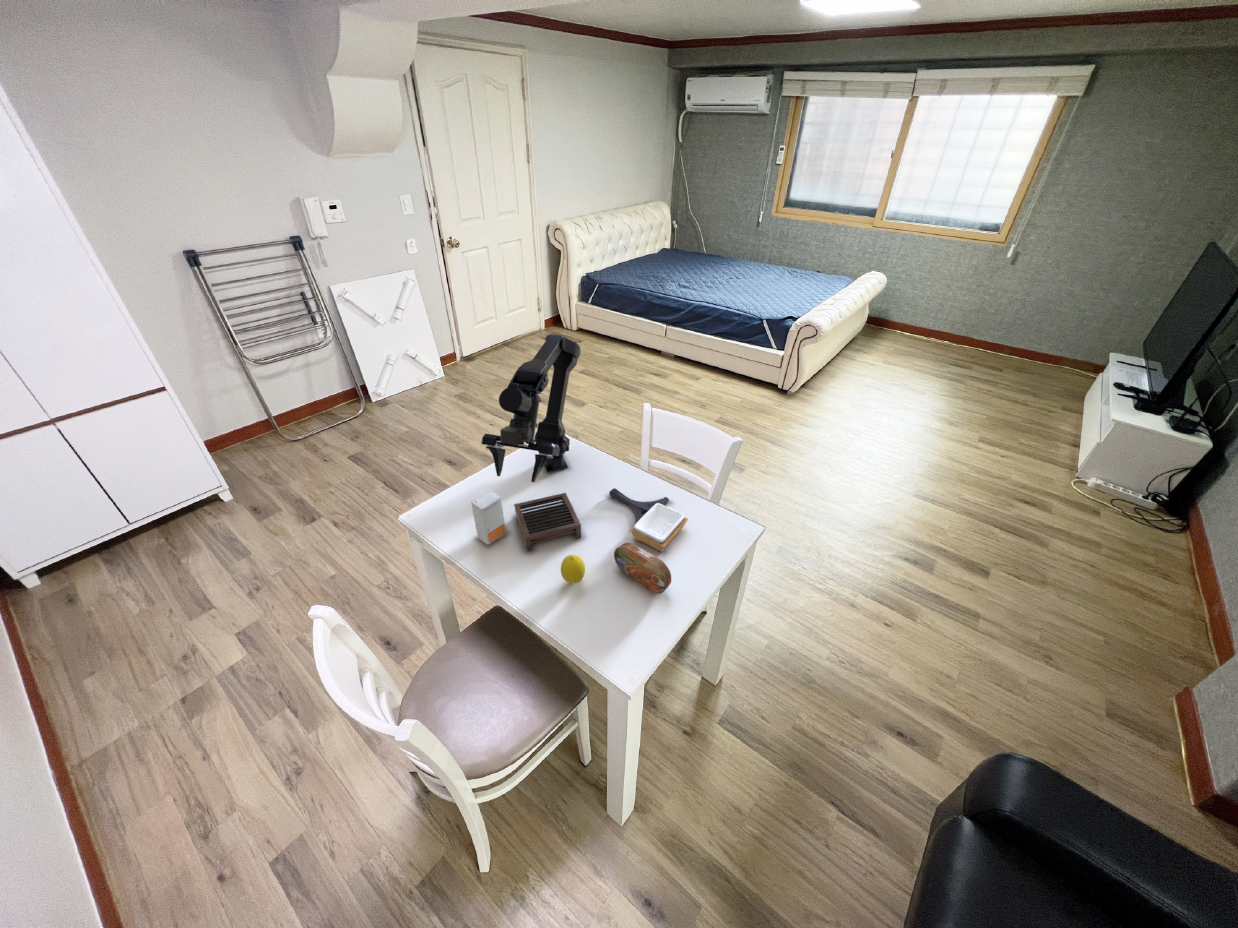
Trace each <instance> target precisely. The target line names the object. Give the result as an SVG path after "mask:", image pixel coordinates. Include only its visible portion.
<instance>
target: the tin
mask: <svg viewBox="0 0 1238 928" xmlns="http://www.w3.org/2000/svg"><path fill="white" fill-rule="evenodd" d="M613 553H614V554H613V557H614V562H615V564H616V567H618V569H619V571H621V572H622V574H623V575H625V576H626V577H628V578H630V580H633V581H634V582H636V583H637V584H639V586H642V587H643V588H645V589H646V590H647V591H649V592H651V593H654V594H657V595H658V594H662V593H664V592H665V591H666V590H667V589H668V588H669V586H670V585H671V584H672V573H671V570H670V568H669V567H668V565H667V564H666V563H665V562H664V561H663V560H662V559H660V558H659V557H658V556H655V555H654V554H652V553H650V552H649V551H647V550H645V549H644V548H642V547H640V546H639V545H637V544H636V543H634V542H629V541H628V542H624V543H622V544H621V545H619V546H618V547H616V548H615V550H614V551H613Z"/></svg>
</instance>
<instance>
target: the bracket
mask: <svg viewBox="0 0 1238 928" xmlns="http://www.w3.org/2000/svg"><path fill="white" fill-rule="evenodd" d="M608 493H609V497H610V498H612V499H614V500H616V501H618V502H620V503H622V504H624V505H626V506H628V507H630V508H631V509H632V511H633V513H634V516H635V517H634V518H635V521H634V525H635V524H636V523H637V522H638V521H639V520H640V519H641V518H642V517H643V516H644V515H645V514H646V513H647V512H648V511H649V510H650V509H651V508H652V507H653V506H654V505H655V504H656V503H659V504H662V505H664V506H666V505H667V504H668V503H669V498H668V497H667V496H665V497H663V498H660V499H657V500H651V501H641V500H635V499H631V498H629V497H628V496H627V495H626V494H624V493H622V492H621V491H619V490H618V489H617V488H615V487H614V488H612V489H610V491H609V492H608Z"/></svg>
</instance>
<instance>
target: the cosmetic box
mask: <svg viewBox="0 0 1238 928" xmlns="http://www.w3.org/2000/svg"><path fill="white" fill-rule="evenodd" d="M502 501H503V500H502V498H501V496H499V495H498V494H497V493H494V492H493V491H491V490H490V491H488V492H486V493H485V494H482V495H480V496H479V497H478V498H476V499H474V500H473V501H471V502H470V505H471V509H472V514H473V520H474V524H475V528H476V529H475V530H476V535H477V538H478V539H479V540H480V541H482V542H483V543H484V544H485V545H486V546H489V545H490V544H492V543H493V542H495V541H497V540H498V539H500V538H501V537H503V536H505V535H506V534H507V529H506V523H505V516H504V508H503V503H502Z"/></svg>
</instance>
